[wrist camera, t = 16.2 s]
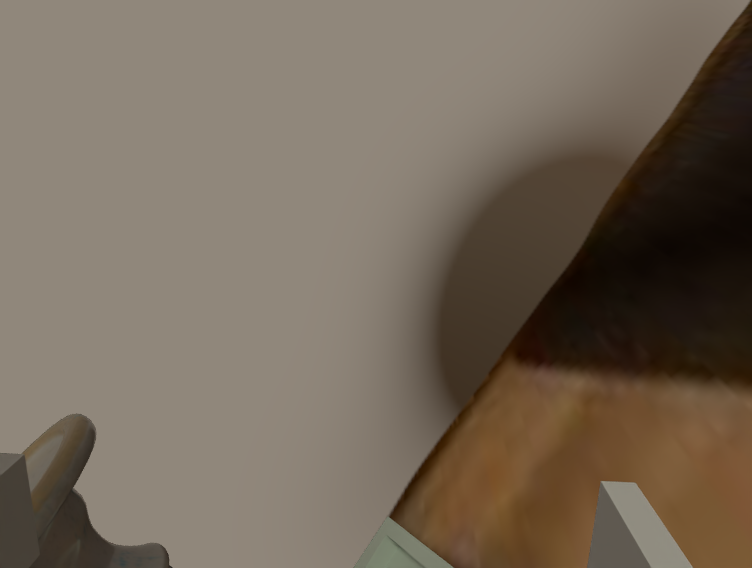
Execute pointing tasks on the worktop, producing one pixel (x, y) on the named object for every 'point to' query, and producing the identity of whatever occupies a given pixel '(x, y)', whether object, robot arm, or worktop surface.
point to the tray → (398, 550)
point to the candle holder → (74, 505)
